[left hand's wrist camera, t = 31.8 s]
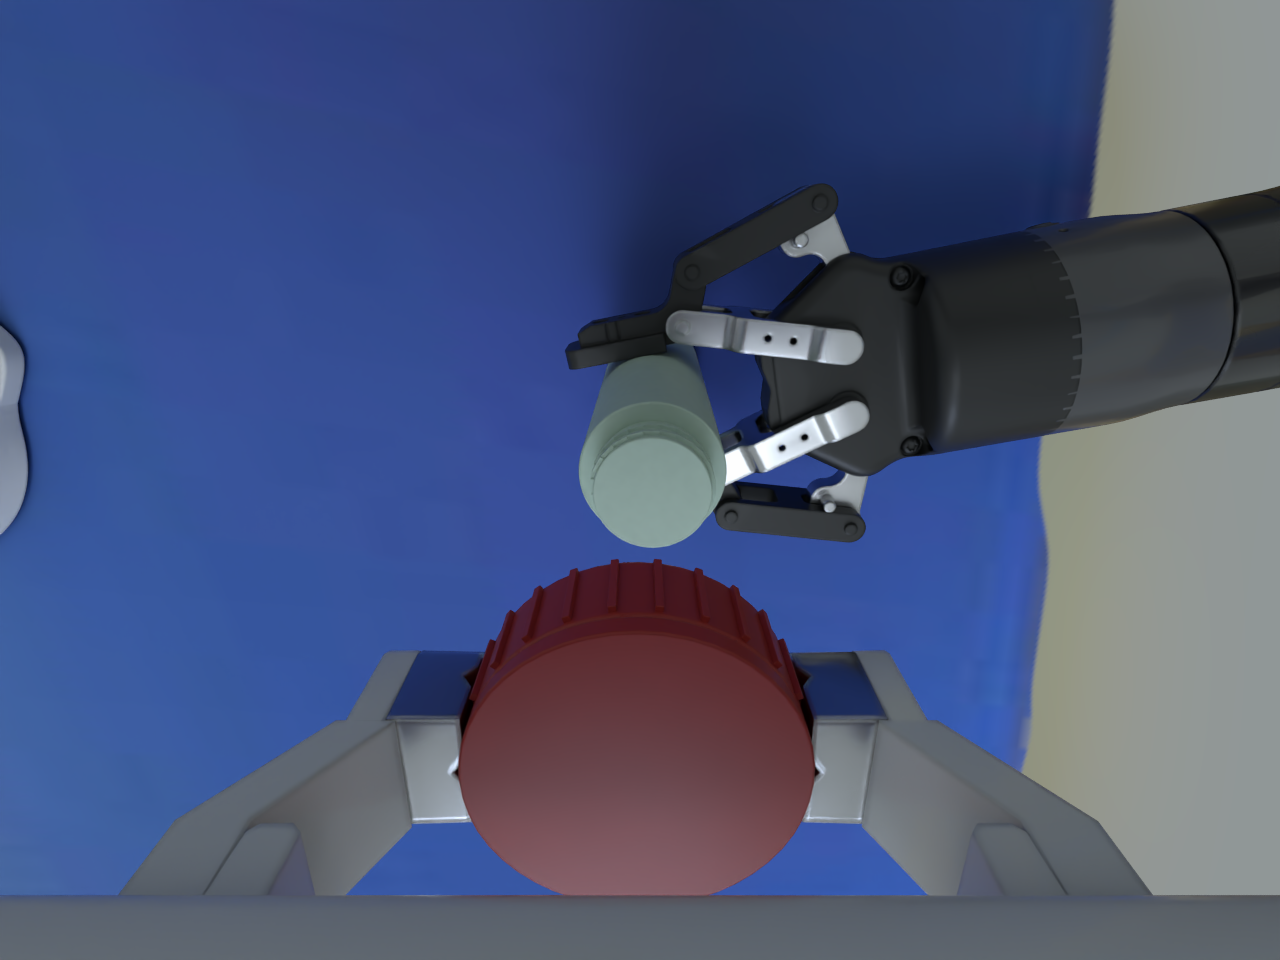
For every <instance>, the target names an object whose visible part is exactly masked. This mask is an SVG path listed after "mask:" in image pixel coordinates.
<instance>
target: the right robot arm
mask: <svg viewBox="0 0 1280 960" xmlns="http://www.w3.org/2000/svg"><path fill="white" fill-rule="evenodd" d="M837 206H838V196H837V193H836V191H835V190H834V189H833V188H832V187H831V186H829V185H827V184H814V185H808V186H802V187H800V188H798V189H796V190H794V191H792V192H791V193H789V194H787V195H785V196H783V197H782V198H780V199H778V200H776V201H774V202H772V203H771V204H769V205H767V206H765V207H763V208H762V209H760V210H758V211H756V212H754V213H753V214H751V215H749V216H747V217H745V218H744V219H742V220H740V221H738V222H736V223H734V224H733V225H731V226H729V227H727V228H725V229H724V230H722V231H720V232H718V233H716V234H715V235H713V236H711V237H709V238H707V239H706V240H704V241H702V242H700V243H698V244H696V245H695V246H693V247H691V248H689V249H687V250H686V251H684V252H682V253H680V254H679V255H678V256H677V257H676V259H675V261H674V264H673V273H672V279H671V285H670V291H669V295H668V297H667V299H666V300H665V302H664V303H663V304H662V305H660V306H659V307H657V308H654V309H649V310H644V311H639V312H634V313H629V314H623V315H619V316H613V317H609V318H603V319H598V320H593V321H591V322H590V323H588V324H587V325H585V326H584V327H582V328H581V330H580V331H579V333H578V338H579V341H575V342H572V343H570V344H569V345H568V347H567V348H566V350H565V353H566V357H567V361H568V365H569V369H581V368H586V367H592V366H597V365H602V364H607V363H613V362H618V361H623V360H628V359H634V358H638V357H643V356H649V355H655V354H660V353H665V352H667V346H666V345H670V344H675V343H677V344H682V345H692V346H702V347H711V348H721V349H727V350H730V351H733V352H738V353H745V354H755V360H756V363H757V365H758V367H759V370H760V372H761V374H762V377H763V383H762V391H761V405H762V410H760V411H758V412H756V413H754V414H752V415H750V416H748V417H746V418H744V419H742V420H741V421H739V422H738V423H737V424H736V426H735V427H733V428H732V429H730V430H728V431H726V432H724V433H722V434H720V435H719V436H720V439H721V443H722V446H723V450H724V453H725V458H726V465H727V475H726V483H725V487H724V491H723V493H722V496H721V498H720V500H719V502H718V504H717V506H716V507H715V508H714V510H713V512H714V513H715V517H716V521H717V523H718V525H719V526H720V527H721V528H723V529H726V530H731V531H741V532H751V533H761V534H771V535H781V536H790V537H800V538H810V539H820V540H830V541H839V542H854V541H857V540H858V539H860V538H861V537H862V536H863V534H864V532H865V529H866V526H865V522H864V520H863V519H862V517H861V516H860V508H861V504H862V500H863V496H864V491H865V487H866V483H867V479H868V476H870V475H873V474H876V473H878V472H880V471H881V470H882V469H884V468H885V467H886V466H888V465H890V464H891V463H893V462H895V461H897V460H899V459H902V458H905V457H912V456H925V455H934V454H940V453H946V452H952V451H957V450H963V449H969V448H975V447H981V446H986V445H992V444H998V443H1004V442H1009V441H1016V440H1021V439H1027V438H1033V437H1039V436H1044V435H1049V434H1055V433H1061V432H1067V431H1073V430H1078V429H1084V428H1090V427H1095V426H1101V425H1107V424H1111V423H1116V422H1121V421H1125V420H1128V419H1132V418H1136V417H1139V416H1142V415H1145V414H1148V413H1151V412H1154V411H1158V410H1161V409H1165V408H1168V407H1173V406H1177V405H1184V404H1189V403H1195V402H1201V401H1207V400H1212V399H1218V398H1224V397H1230V396H1235V395H1241V394H1247V393H1252V392H1258V391H1264V390H1269V389H1275V388H1280V186H1278V187H1275V188H1271V189H1267V190H1263V191H1258V192H1254V193H1249V194H1244V195H1239V196H1234V197H1229V198H1223V199H1219V200H1213V201H1208V202H1203V203H1198V204H1193V205H1188V206H1183V207H1178V208H1173V209H1168V210H1163V211H1159V212H1152V213H1144V214H1128V215H1111V216H1100V217H1093V218H1087V219H1081V220H1075V221H1070V222H1065V223H1051V222H1049V223H1043V224H1039V225H1035V226H1032V227H1029V228H1027V229H1026V230H1024V231H1019V232H1014V233H1009V234H1004V235H999V236H994V237H989V238H984V239H979V240H974V241H969V242H964V243H959V244H954V245H949V246H943V247H938V248H933V249H928V250H923V251H918V252H913V253H908V254H903V255H898V256H893V257H888V258H871V257H868V256H866V255H863V254H859V253H855V252H850V251H849V249H848V246H847V244H846V241H845V239H844V236H843V234H842V231H841V229H840V227H839V224H838V222H837V219H836V217H835V214H834V213H835V211H836V209H837ZM776 247H778V249H779V250H780V251H781V252H782V253H783V254H785V255H788V256H791V257H802V256H804V255H808V254H813V255H814V256H816V257H817V258H818V259H819V261H820V263H819V264H818V266H817V267H816V268H815V269H814V270H813V271H812V272H811V273H810V274H809V275H808V276H807V277H806V278H805V279H804V280H803V281H802V282H801V283H800V284H799V285H798V286H797V287H796V288H795V289H794V290H793V291H792V292H791V293H790V294H789V295H788V296H787V297H786V298H785V299H784V300H783V301H782V302H781V303H780V304H779V305H778V306H777V307H776V308H775V309H774V310H769V309H759V308H750V307H740V306H716V305H706V304H703V300H704V295H705V289H706V285H707V284H709V283H711V282H713V281H715V280H717V279H718V278H720V277H722V276H724V275H726V274H728V273H730V272H731V271H733V270H735V269H737V268H739V267H741V266H743V265H744V264H746V263H748V262H750V261H752V260H754V259H755V258H757V257H759V256H761V255H763V254H765V253H767V252H768V251H770V250H772V249H774V248H776ZM780 445H783V446H781V447H779V446H780ZM804 454H806V455H808V456H810V457H812V458H814V459H817V460H819V461H821V462H823V463H825V464H828V465H830V466H832V467H834V468H836V469H838V471H837V472H836V473H835V474H834V475H833V476H831V477H828V478H819V479H816V480H814V481H812V482H811V483H810V484H809V485H808V487H807V488H797V487H788V486H778V485H768V484H758V483H749V482H739V481H737V480H739V479H741V478H743V477H745V476H747V475H750V474H752V473H764V472H767V471H770V470H772V469H774V468H776V467H778V466H780V465H782V464H785V463H787V462H789V461H791V460H793V459H795V458H797V457H799V456H802V455H804Z"/></svg>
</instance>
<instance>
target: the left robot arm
mask: <svg viewBox="0 0 1280 960" xmlns="http://www.w3.org/2000/svg"><path fill="white" fill-rule="evenodd" d="M24 367H25V362H24V355H23V352H22V349H21V347H20V345H19V344H18V342H17V341H16V340H15V339H14V338H13V336H12V335H11V334H9V333H8V332H7V331H6V330H5V329H4V328H3V327H2V326H1V325H0V535H1V534H2V533H3V532H4V531H5V530H6V529H7V528H8V527H9V525H10V524H11V523H12V522H13V520H14V518H15V517H16V515H17V514H18V512H19V510H20V508H21V505H22V502H23V500H24V496H25V493H26V487H27V480H28V459H27V451H26V445H25V441H24V436H23V432H22V428H21V424H20V419H19V413H18V400H19V396H20V392H21V387H22V382H23V377H24ZM484 654H485V652H463V651H422V652H421V651H389V652H387V653H385V654H384V655H383V657H382V658H381V660H380V662H379V664H378V665H377V667H376V669H375V671H374V672H373V674H372V676H371V678H370V679H369V681H368V683H367V684H366V686H365V688H364V690H363V691H362V693H361V695H360V697H359V698H358V700H357V702H356V704H355V705H354V707H353V709H352V711H351V712H350V714H349V716H348V717H347V719H346V720H336V721H334V722H333V723H331V724H329V725H328V726H326V727H325V728H323V729H321V730H320V731H318V732H317V733H315V734H313V735H312V736H310V737H309V738H307V739H305V740H304V741H302V742H300V743H299V744H297V745H296V746H294V747H292V748H291V749H289V750H288V751H286V752H284V753H283V754H281V755H279V756H278V757H276V758H275V759H273V760H271V761H270V762H268V763H267V764H265V765H263V766H262V767H260V768H259V769H257V770H255V771H254V772H252V773H250V774H249V775H247V776H246V777H244V778H242V779H241V780H239V781H238V782H236V783H234V784H233V785H231V786H229V787H228V788H226V789H225V790H223V791H221V792H220V793H218V794H217V795H215V796H213V797H212V798H210V799H208V800H207V801H205V802H204V803H202V804H200V805H199V806H197V807H196V808H194V809H192V810H191V811H189V812H188V813H186V814H184V815H183V816H181V817H179V818H178V819H176V820H175V821H174V822H173V824H172V825H171V826H170V828H169V829H168V830H167V832H166V833H165V834H164V835H163V837H162V838H161V839H160V841H159V842H158V843H157V845H156V846H155V847H154V849H153V850H152V851H151V853H150V854H149V855H148V856H147V858H146V859H145V860H144V862H143V863H142V864H141V866H140V867H139V868H138V870H137V871H136V872H135V874H134V875H133V876H132V877H131V879H130V880H129V881H128V883H127V884H126V885H125V887H124V888H123V889H122V891H121V892H120V893H119V895H0V960H1280V895H1152V893H1151V892H1150V891H1149V889H1148V888H1147V887H1146V885H1145V884H1144V882H1143V881H1142V880H1141V878H1140V877H1139V876H1138V874H1137V873H1136V872H1135V870H1134V869H1133V868H1132V866H1131V865H1130V864H1129V862H1128V861H1127V860H1126V858H1125V857H1124V856H1123V854H1122V853H1121V852H1120V850H1119V849H1118V847H1117V846H1116V845H1115V843H1114V842H1113V841H1112V839H1111V838H1110V837H1109V835H1108V834H1107V833H1106V831H1105V830H1104V829H1103V827H1102V826H1101V825H1100V823H1099V822H1098V821H1097V820H1095V819H1094V818H1092V817H1090V816H1089V815H1087V814H1086V813H1084V812H1082V811H1081V810H1079V809H1078V808H1076V807H1074V806H1073V805H1071V804H1070V803H1068V802H1067V801H1065V800H1063V799H1062V798H1060V797H1058V796H1057V795H1055V794H1054V793H1052V792H1051V791H1049V790H1047V789H1046V788H1044V787H1043V786H1041V785H1039V784H1038V783H1036V782H1035V781H1033V780H1031V779H1030V778H1028V777H1027V776H1025V775H1024V774H1022V773H1020V772H1019V771H1017V770H1016V769H1014V768H1012V767H1011V766H1009V765H1008V764H1006V763H1004V762H1003V761H1001V760H1000V759H998V758H996V757H995V756H993V755H992V754H990V753H988V752H987V751H985V750H984V749H982V748H981V747H979V746H977V745H976V744H974V743H973V742H971V741H969V740H968V739H966V738H965V737H963V736H961V735H960V734H958V733H957V732H955V731H953V730H952V729H950V728H949V727H947V726H945V725H944V724H942V723H941V722H939V721H937V720H927V718H926V717H925V715H924V713H923V711H922V710H921V708H920V706H919V704H918V703H917V701H916V699H915V697H914V696H913V694H912V692H911V690H910V689H909V687H908V685H907V683H906V682H905V680H904V678H903V676H902V675H901V673H900V671H899V669H898V668H897V666H896V664H895V662H894V661H893V659H892V657H891V655H890V654H889V653H888V652H886V651H885V650H872V651H852V652H808V653H789V655H790V658H791V661H792V664H793V667H794V670H795V673H796V676H797V679H798V682H799V685H800V688H801V691H802V694H803V697H804V698H803V699H801V709H802V712H803V715H804V718H805V721H806V724H807V727H808V731H809V734H810V738H811V741H812V744H813V750H814V759H815V777H814V786H813V790H812V795H811V799H810V803H809V805H808V808H807V810H806V813H805V815H804V818H803V820H802V822H820V823H855V824H862V827H863V828H864V829H865V830H866V831H867V832H868V833H869V834H870V835H871V836H872V837H873V838H874V839H875V841H876V842H877V843H878V844H879V845H880V846H881V847H882V848H883V849H884V850H885V851H886V852H887V853H888V854H889V855H890V856H891V857H892V858H893V859H894V860H895V861H896V862H897V863H898V864H899V865H900V866H901V867H902V868H903V870H904V871H905V872H906V873H907V874H908V875H909V876H910V877H911V878H912V879H913V880H914V881H915V882H916V883H917V884H918V885H919V886H920V887H921V888H922V889H923V890H924V891H925V892H926V893H927V894H928V895H864V896H771V895H346V894H347V893H348V892H349V891H350V890H351V889H352V888H353V887H354V886H355V885H356V884H357V883H358V882H359V881H360V880H361V879H362V877H363V876H364V875H365V874H366V873H367V872H368V871H369V870H370V869H371V868H372V867H373V866H374V865H375V864H376V863H377V862H378V861H379V860H380V859H381V858H382V857H383V856H384V855H385V854H386V853H387V852H388V851H389V850H390V849H391V848H392V847H393V846H394V845H395V844H396V843H397V842H398V841H399V840H400V839H401V838H402V837H403V836H404V835H405V834H406V833H407V831H408V830H409V829H410V828H411V827H412V826H411V824H418V823H453V822H472V820H471V819H470V817H469V815H468V812H467V809H466V807H465V804H464V801H463V798H462V794H461V788H460V783H459V773H458V759H459V752H460V745H461V741H462V738H463V735H464V732H465V729H466V726H467V723H468V720H469V717H470V714H471V711H472V708H473V700H470V699H469V698H470V695H471V692H472V689H473V686H474V683H475V680H476V677H477V674H478V671H479V669H480V666H481V663H482V660H483V657H484Z"/></svg>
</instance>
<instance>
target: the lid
mask: <svg viewBox="0 0 1280 960" xmlns="http://www.w3.org/2000/svg"><path fill="white" fill-rule="evenodd" d="M803 698H804V697H803V694H802V691H801V688H800V685H799V682H798V679H797V676H796V673H795V670H794V667H793V664H792V661H791V658H790V655H789V652H788V649H787V646H786V643H785V641H784V639H780V640H778V639H777V637H776V635H775V633H774V632H773V630H772V629H771V626H770V622H769V619H768V616H767V613H766V612H765V611H764V610H763V609H762V610H760V611H759V612H758V611H757V610H756V609H755V608H754V607H753V606H752V605H751V604H750V603H748V602H747V601H746V600H745V599H744V598H742V597H741V596H740V593H739V589H738V588H737V587H736V586H734V585H732V586H731V587H730V589H729V588H728V587H726V586H725V585H723V584H721V583H720V582H718V581H715V580H713V579H711V578H709V577H707V576H704V575H703V570H701V569H699V568H695V570H694V571H690V570H687V569H684V568H681V567H676V566H670V565H665V564H662V560H659V559H654V562H653V563H645V562H631V563H630V562H627V563H625V562H623V563H619V560H618V559H615V560H611V564H609V565H603V566H597V567H594V568H590V569H587V570H583V571H580V572H579V571H578V569H577V568H575V569H572V570H570V574H569V576H567V577H565V578H563V579H560V580H558V581H556V582H555V583H553V584H551V585H549V586H548V587H546V588H544V589H543V588H542V587H541V586H538V587H537V588H535V589H534V593H533V596H532V598H530V599H529V600H528V601H526V602H525V603H524V604H523V605H522V606H521V607H520V608H519V609H518V610H517V611H516V612H513V611H512V610H510V611H509V612H508V613H507V614H506V617H505V621H504V624H503V627H502V630H501V632H500V633H499V635H498V637H497V639H496V641H494V640H491V639H490V641H489V643H488V645H487V648H486V651H485V654H484V657H483V660H482V663H481V666H480V669H479V671H478V674H477V677H476V680H475V683H474V686H473V689H472V692H471V695H470V698H469V699H470V700H473V708H472V711H471V714H470V717H469V720H468V723H467V726H466V729H465V732H464V735H463V738H462V741H461V745H460V752H459V759H458V773H459V783H460V788H461V794H462V798H463V801H464V804H465V807H466V809H467V812H468V815H469V817H470V819H471V820H472V822H473V824H474V826H475V828H476V829H477V831H478V833H479V834H480V835H481V836H482V838H483V839H484V840H485V842H486V843H487V844H488V846H489V847H490V848H491V849H492V850H493V851H494V852H495V853H496V854H497V855H498V856H499V857H500V858H501V859H502V860H503V861H505V862H506V863H507V864H508V865H510V866H511V867H512V868H514V869H515V870H516V871H517V872H519V873H521V874H522V875H524V876H525V877H527V878H529V879H530V880H532V881H534V882H535V883H538V884H540V885H542V886H544V887H546V888H548V889H550V890H552V891H555V892H558V893H561V894H563V895H710V894H713V893H716V892H719V891H721V890H723V889H725V888H728V887H730V886H732V885H734V884H736V883H738V882H740V881H741V880H743V879H745V878H746V877H748V876H750V875H752V874H753V873H755V872H756V871H757V870H759V869H760V868H761V867H763V866H764V865H765V864H767V863H768V862H769V861H770V860H771V859H772V858H773V857H774V856H775V855H776V854H777V853H778V852H779V851H780V850H782V849H783V847H784V846H785V845H786V843H787V842H788V841H789V840H790V838H791V837H792V836H793V835H794V833H795V832H796V830H797V828H798V826H799V825H800V823H801V821H802V820H803V818H804V815H805V813H806V810H807V808H808V805H809V803H810V799H811V795H812V790H813V786H814V777H815V759H814V750H813V744H812V741H811V738H810V734H809V731H808V727H807V724H806V721H805V718H804V715H803V712H802V709H801V699H803Z"/></svg>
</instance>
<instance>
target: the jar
mask: <svg viewBox="0 0 1280 960" xmlns="http://www.w3.org/2000/svg"><path fill="white" fill-rule="evenodd" d="M666 346H667V352H665V353H660V354H655V355H649V356H643V357H638V358H634V359H628V360H623V361H618V362H613V363H608V366H607V369H606V373H605V376H604V379H603V382H602V386H601V389H600V392H599V396H598V399H597V402H596V406H595V409H594V412H593V416H592V419H591V422H590V425H589V429H588V432H587V435H586V439H585V442H584V445H583V449H582V452H581V455H580V461H579V479H580V485H581V489H582V492H583V494H584V497H585V499H586V501H587V503H588V504H589V506H590V508H591V509H592V510H593V512H594V513H595V514H596V515H597V516H598V517H599V518H600V519H601V521H602V522H603V524H604V525H605V526H606V527H607V528H608V529H609V530H610V531H611V532H612V533H613V534H614V535H616V536H617V537H618V538H620V539H622V540H624V541H626V542H628V543H630V544H633V545H637V546H641V547H652V548H655V547H664V546H669V545H672V544H675V543H677V542H680V541H682V540H684V539H685V538H687V537H688V536H690V535H691V534H692V533H693V532H695V531H696V530H697V529H698V528H699V527H700V525H701V524H702V523H703V521H704V520H705V519H706V518H707V517H708V516H709V515H710V514H711V512H712V511H713V510H714V508H715V507H716V506H717V504H718V502H719V500H720V498H721V496H722V493H723V491H724V487H725V483H726V475H727V465H726V458H725V453H724V450H723V446H722V443H721V439H720V436H719V432H718V429H717V425H716V422H715V418H714V415H713V411H712V408H711V404H710V401H709V397H708V394H707V390H706V387H705V383H704V380H703V376H702V373H701V369H700V366H699V362H698V359H697V355H696V352H695V350H694V348H693V346H692V345H682V344H677V343H675V344H670V345H666Z"/></svg>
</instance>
